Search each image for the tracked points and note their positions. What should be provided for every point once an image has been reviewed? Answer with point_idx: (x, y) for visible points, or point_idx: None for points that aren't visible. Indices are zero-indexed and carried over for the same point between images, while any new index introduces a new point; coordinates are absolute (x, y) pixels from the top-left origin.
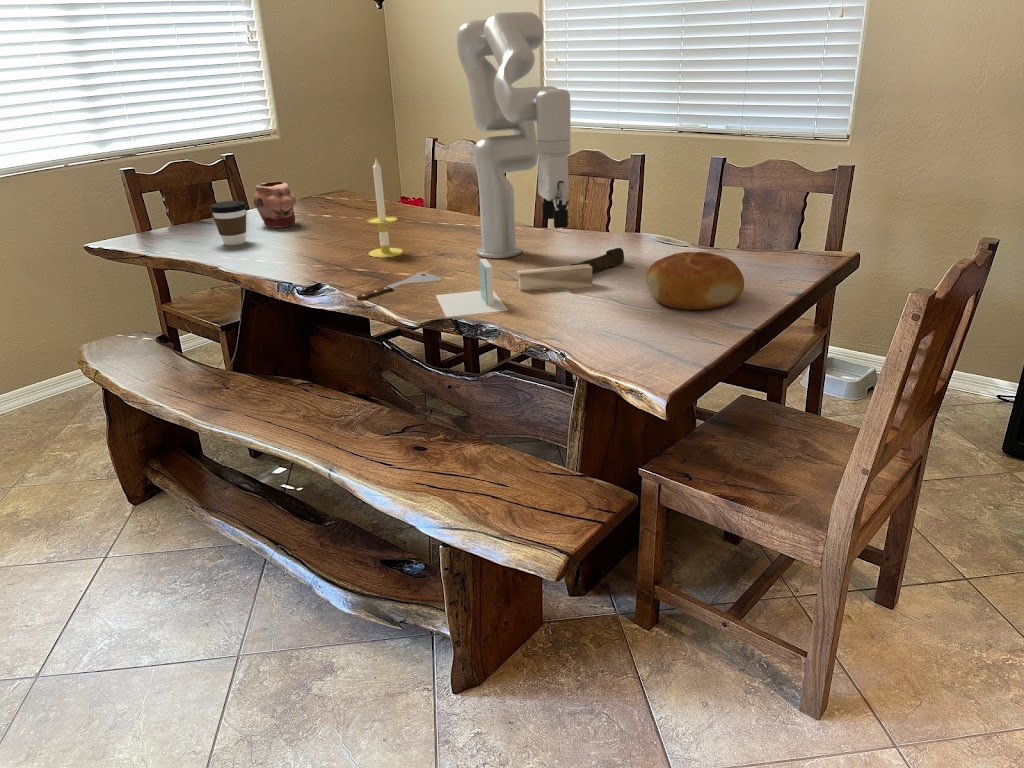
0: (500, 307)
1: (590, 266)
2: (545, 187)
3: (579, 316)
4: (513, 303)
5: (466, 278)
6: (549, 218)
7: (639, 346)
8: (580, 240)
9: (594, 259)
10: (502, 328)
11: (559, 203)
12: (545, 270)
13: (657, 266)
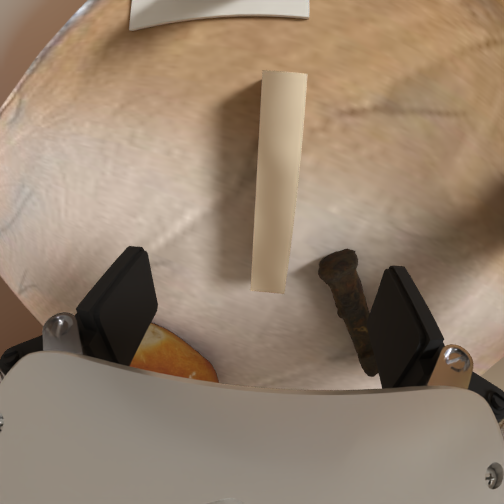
0: (152, 14)
1: (259, 289)
2: (49, 493)
3: (80, 172)
4: (190, 45)
5: (441, 18)
6: (376, 297)
7: (3, 218)
8: (501, 332)
9: (357, 322)
10: (65, 28)
11: (6, 351)
12: (272, 161)
13: (131, 364)
